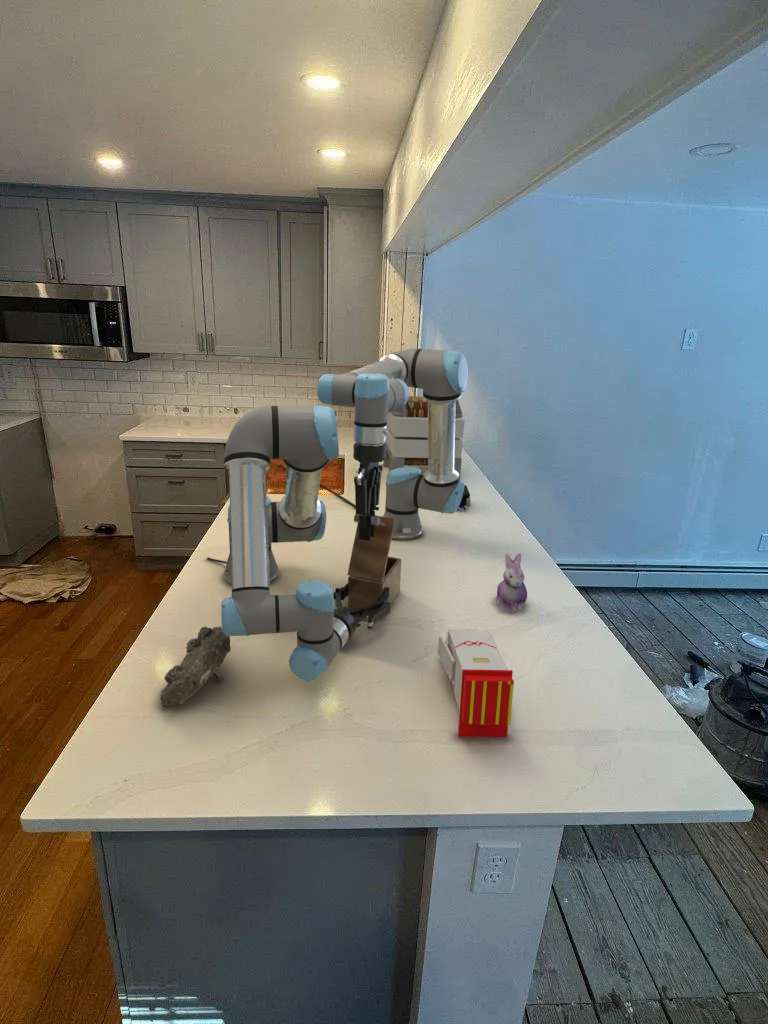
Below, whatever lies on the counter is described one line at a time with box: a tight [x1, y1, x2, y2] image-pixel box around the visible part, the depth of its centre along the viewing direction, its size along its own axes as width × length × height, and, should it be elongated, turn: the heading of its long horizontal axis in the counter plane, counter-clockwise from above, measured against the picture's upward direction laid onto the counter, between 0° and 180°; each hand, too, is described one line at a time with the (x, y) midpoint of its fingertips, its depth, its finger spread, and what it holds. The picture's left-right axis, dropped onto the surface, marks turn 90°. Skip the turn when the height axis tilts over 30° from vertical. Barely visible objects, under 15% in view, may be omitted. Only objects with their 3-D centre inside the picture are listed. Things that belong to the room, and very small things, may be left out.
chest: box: [347, 555, 402, 609], centre depth 151 cm, size 16×9×10 cm, turn 161°
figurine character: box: [456, 484, 471, 512], centre depth 229 cm, size 7×8×15 cm
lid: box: [347, 513, 395, 582], centre depth 140 cm, size 16×9×9 cm
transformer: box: [383, 395, 465, 480], centre depth 268 cm, size 34×33×41 cm
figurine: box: [495, 552, 528, 614], centre depth 152 cm, size 9×10×15 cm
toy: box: [437, 628, 515, 738], centre depth 117 cm, size 12×13×30 cm
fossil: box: [159, 626, 232, 707], centre depth 118 cm, size 22×10×15 cm
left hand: (369, 588), depth 147 cm, fingers closed on chest, 9 cm apart
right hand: (366, 537), depth 138 cm, fingers closed on lid, 2 cm apart
